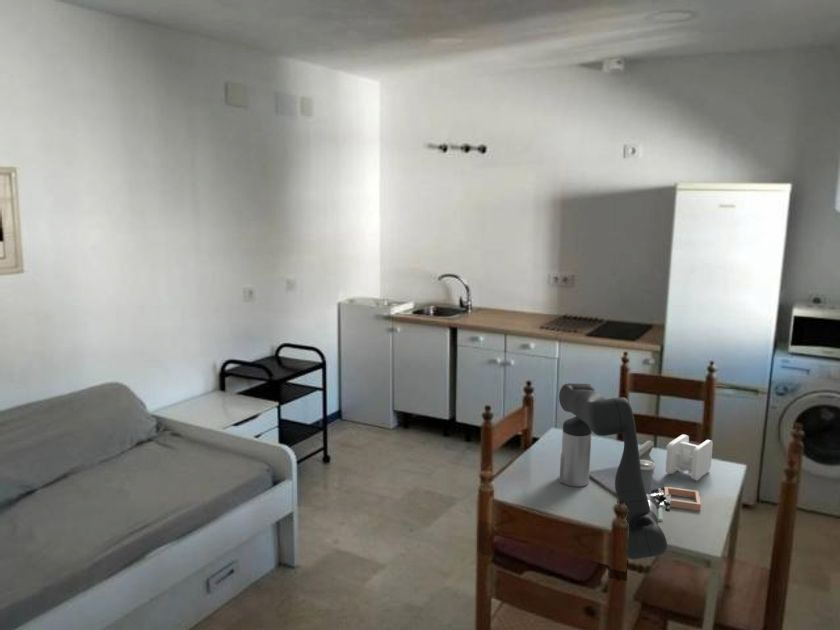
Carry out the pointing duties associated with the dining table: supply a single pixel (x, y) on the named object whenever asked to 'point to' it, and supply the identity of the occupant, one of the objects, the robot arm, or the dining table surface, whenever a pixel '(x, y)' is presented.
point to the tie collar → (686, 493)
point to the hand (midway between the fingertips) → (643, 488)
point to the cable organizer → (689, 456)
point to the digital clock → (646, 451)
